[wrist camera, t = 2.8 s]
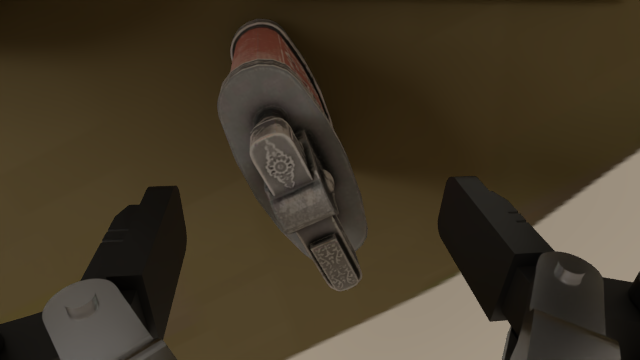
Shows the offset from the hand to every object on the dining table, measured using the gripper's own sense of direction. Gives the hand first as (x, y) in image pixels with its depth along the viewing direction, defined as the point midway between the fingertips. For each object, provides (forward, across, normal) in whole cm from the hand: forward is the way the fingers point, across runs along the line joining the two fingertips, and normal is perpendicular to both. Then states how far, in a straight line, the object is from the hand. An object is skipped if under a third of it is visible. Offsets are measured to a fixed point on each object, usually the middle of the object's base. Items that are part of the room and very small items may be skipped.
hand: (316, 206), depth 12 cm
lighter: (+9, 0, 0) cm, 9 cm away
